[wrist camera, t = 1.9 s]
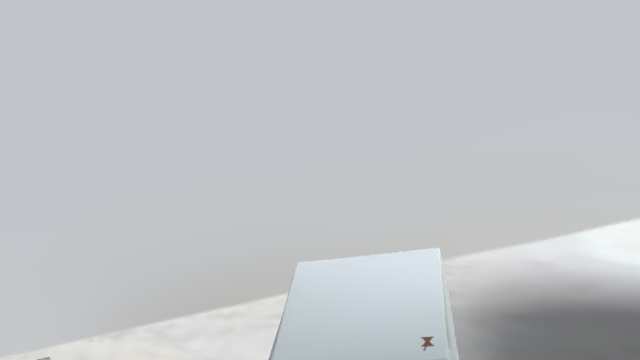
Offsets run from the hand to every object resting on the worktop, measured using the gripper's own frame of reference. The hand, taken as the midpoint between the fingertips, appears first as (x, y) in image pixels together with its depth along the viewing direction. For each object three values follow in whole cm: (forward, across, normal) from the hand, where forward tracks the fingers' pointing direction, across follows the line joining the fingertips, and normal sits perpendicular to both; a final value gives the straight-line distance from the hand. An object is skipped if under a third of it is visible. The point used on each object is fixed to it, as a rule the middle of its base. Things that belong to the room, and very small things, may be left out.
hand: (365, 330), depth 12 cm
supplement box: (+10, 0, -20) cm, 23 cm away
